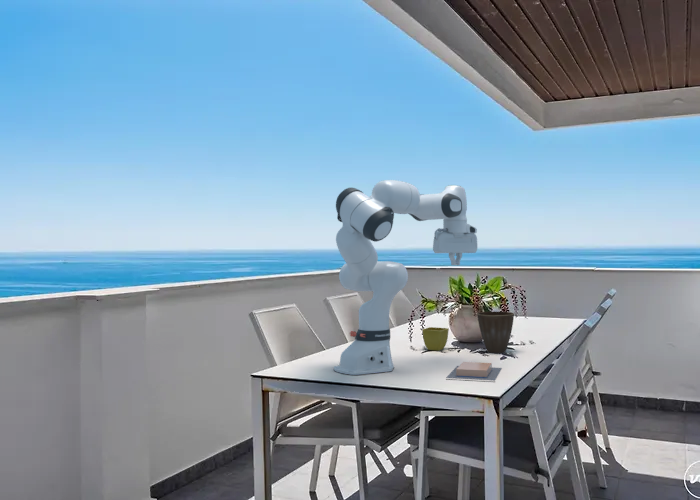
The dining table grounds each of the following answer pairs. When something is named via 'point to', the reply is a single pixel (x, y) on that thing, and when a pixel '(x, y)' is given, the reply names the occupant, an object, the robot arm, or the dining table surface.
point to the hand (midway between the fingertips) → (455, 265)
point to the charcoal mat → (491, 376)
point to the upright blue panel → (474, 369)
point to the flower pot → (435, 338)
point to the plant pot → (495, 330)
